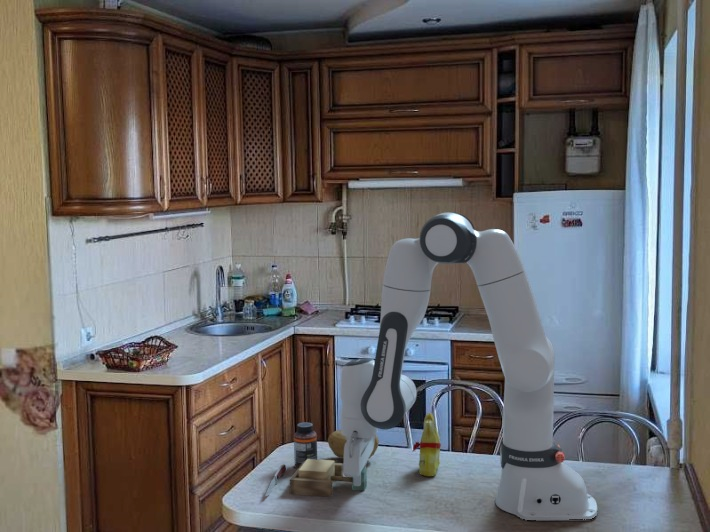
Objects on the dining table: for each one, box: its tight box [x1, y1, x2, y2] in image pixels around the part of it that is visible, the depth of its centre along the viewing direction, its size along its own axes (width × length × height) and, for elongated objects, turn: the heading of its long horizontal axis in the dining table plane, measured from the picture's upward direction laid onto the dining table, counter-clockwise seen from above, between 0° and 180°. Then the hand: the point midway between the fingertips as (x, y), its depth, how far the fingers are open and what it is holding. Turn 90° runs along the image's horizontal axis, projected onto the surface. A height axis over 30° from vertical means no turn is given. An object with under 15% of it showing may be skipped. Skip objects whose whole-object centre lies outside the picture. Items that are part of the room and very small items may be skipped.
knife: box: [264, 464, 287, 497], centre depth 200 cm, size 20×1×3 cm, turn 173°
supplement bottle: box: [293, 421, 318, 470], centre depth 212 cm, size 6×6×11 cm
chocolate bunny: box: [412, 413, 442, 477], centre depth 208 cm, size 7×11×15 cm, turn 167°
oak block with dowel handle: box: [299, 459, 368, 492], centre depth 198 cm, size 16×8×5 cm, turn 78°
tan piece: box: [289, 461, 344, 498], centre depth 199 cm, size 10×13×4 cm
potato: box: [327, 429, 380, 460], centre depth 217 cm, size 10×14×8 cm
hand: (359, 481), depth 197 cm, fingers closed on oak block with dowel handle, 3 cm apart
